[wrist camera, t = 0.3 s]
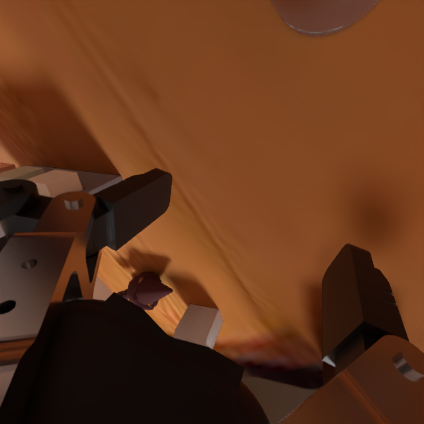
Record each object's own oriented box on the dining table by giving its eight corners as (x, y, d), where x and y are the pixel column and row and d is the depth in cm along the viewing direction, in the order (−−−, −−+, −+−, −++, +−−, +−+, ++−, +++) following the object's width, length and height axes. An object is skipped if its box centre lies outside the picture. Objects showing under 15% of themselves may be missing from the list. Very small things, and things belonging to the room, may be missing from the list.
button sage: (43, 168, 33) (10, 178, 29) (55, 195, 35) (26, 208, 32) (24, 165, 34) (-9, 175, 31) (37, 191, 37) (8, 203, 33)
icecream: (148, 282, 36) (104, 282, 45) (164, 322, 37) (118, 315, 46) (177, 262, 42) (133, 266, 51) (190, 298, 42) (144, 296, 52)
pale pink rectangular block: (189, 303, 46) (163, 350, 38) (219, 309, 43) (197, 361, 35) (194, 315, 48) (170, 363, 40) (223, 321, 45) (202, 374, 37)
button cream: (76, 172, 30) (45, 184, 27) (87, 201, 33) (60, 216, 29) (54, 169, 32) (22, 180, 29) (66, 197, 34) (38, 210, 31)
